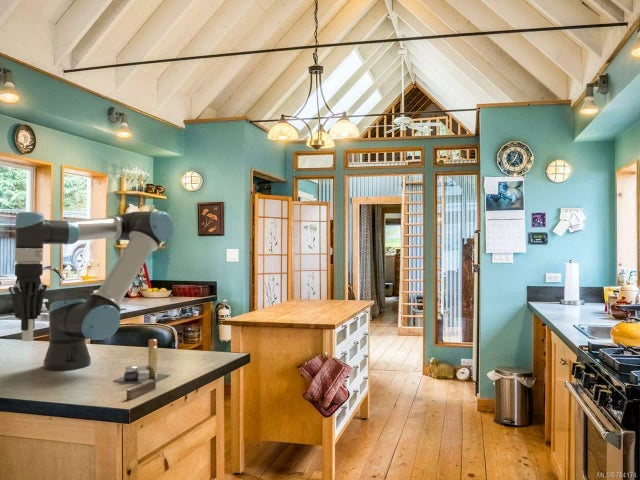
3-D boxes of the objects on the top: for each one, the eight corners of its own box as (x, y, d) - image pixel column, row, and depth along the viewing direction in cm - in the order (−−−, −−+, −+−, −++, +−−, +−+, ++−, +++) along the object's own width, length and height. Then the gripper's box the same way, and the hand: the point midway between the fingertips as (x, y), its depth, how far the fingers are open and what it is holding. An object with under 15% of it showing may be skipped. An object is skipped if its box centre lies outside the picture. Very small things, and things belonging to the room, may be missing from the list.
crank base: (113, 381, 169) (113, 348, 169) (134, 373, 180) (134, 342, 181) (150, 384, 166) (150, 350, 166) (169, 375, 177) (170, 343, 177)
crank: (126, 373, 169) (126, 342, 169) (124, 371, 172) (124, 341, 172) (158, 370, 173) (158, 340, 174) (155, 367, 177) (155, 338, 177)
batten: (126, 399, 150) (126, 389, 150) (150, 388, 161) (150, 379, 161) (131, 399, 149) (131, 390, 149) (155, 388, 161) (155, 379, 161)
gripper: (22, 263, 159) (21, 344, 158) (54, 262, 171) (53, 338, 171) (1, 263, 160) (-1, 343, 160) (34, 262, 173) (33, 337, 172)
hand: (27, 340), depth 165 cm, fingers closed
